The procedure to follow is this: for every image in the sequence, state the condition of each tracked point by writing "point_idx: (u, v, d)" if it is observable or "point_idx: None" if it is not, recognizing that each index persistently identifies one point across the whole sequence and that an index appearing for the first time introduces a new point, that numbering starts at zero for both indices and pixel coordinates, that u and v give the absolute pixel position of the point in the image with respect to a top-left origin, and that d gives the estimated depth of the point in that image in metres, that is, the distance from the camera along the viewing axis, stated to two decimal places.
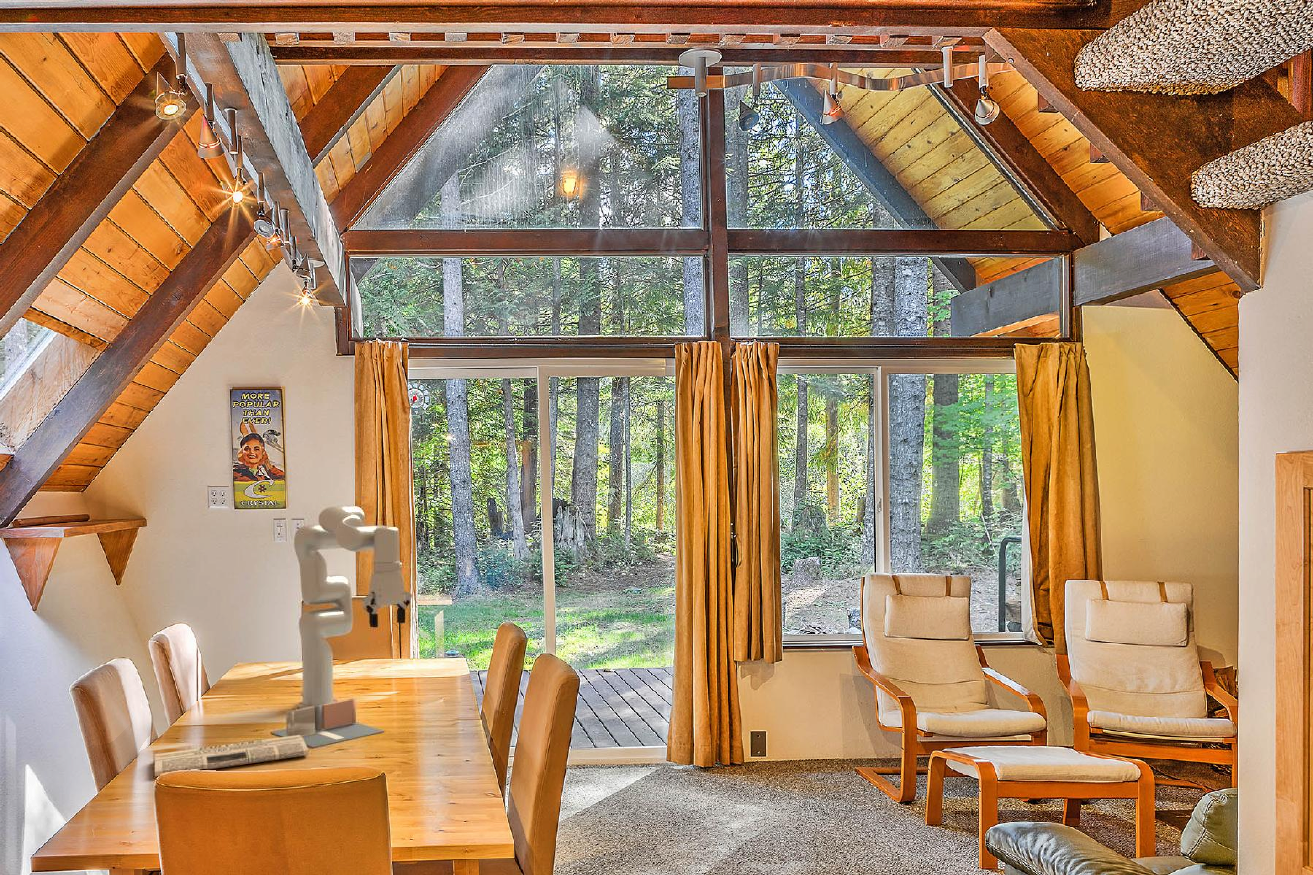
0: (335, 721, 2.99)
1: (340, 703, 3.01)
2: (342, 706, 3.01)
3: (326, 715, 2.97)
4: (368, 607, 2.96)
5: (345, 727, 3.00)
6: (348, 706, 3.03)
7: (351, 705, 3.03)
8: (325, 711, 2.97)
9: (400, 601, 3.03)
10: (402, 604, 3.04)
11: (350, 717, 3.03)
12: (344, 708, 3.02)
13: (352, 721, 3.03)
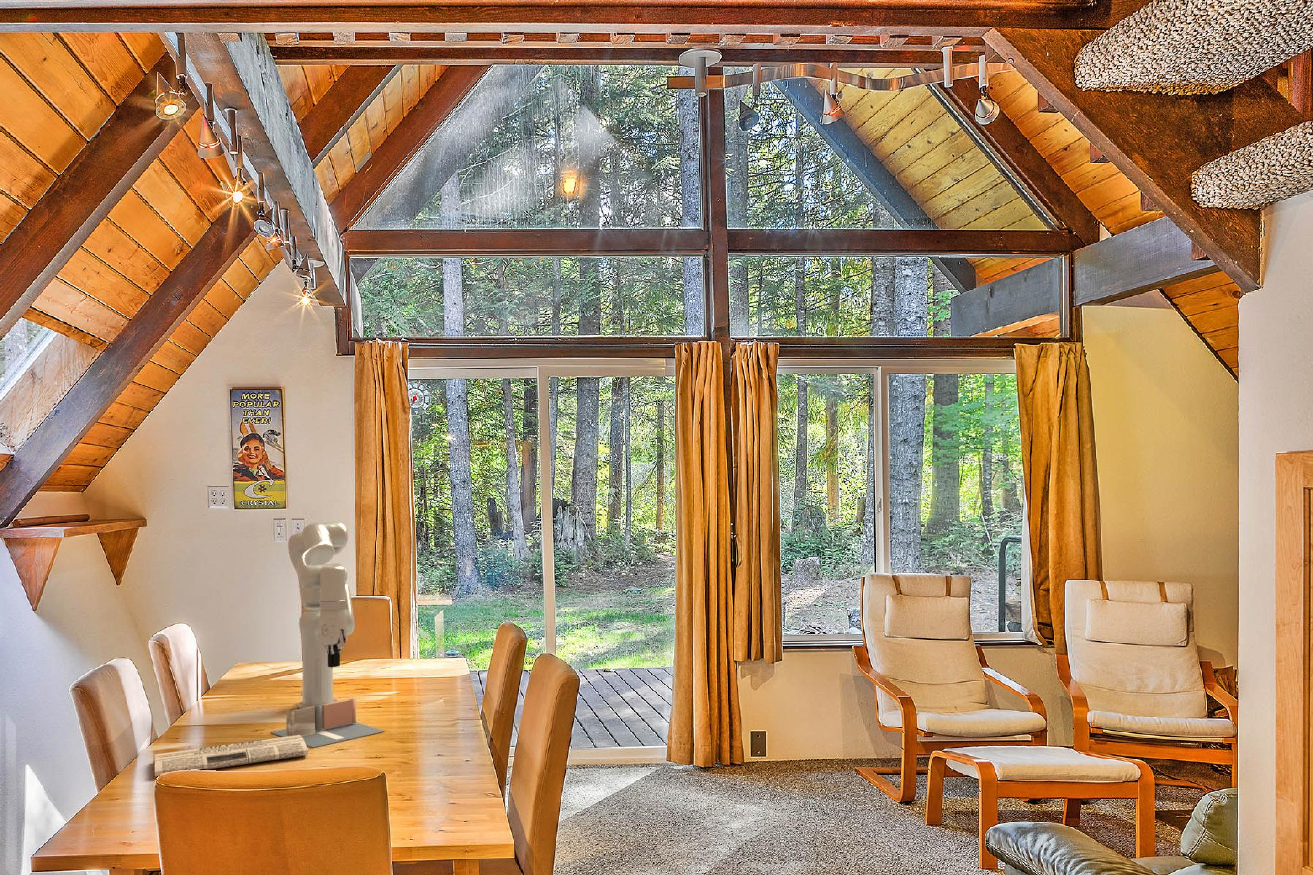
0: (335, 721, 2.99)
1: (340, 703, 3.01)
2: (342, 706, 3.01)
3: (326, 715, 2.97)
4: None
5: (345, 727, 3.00)
6: (348, 706, 3.03)
7: (351, 705, 3.03)
8: (325, 711, 2.97)
9: None
10: None
11: (350, 717, 3.03)
12: (344, 708, 3.02)
13: (352, 721, 3.03)
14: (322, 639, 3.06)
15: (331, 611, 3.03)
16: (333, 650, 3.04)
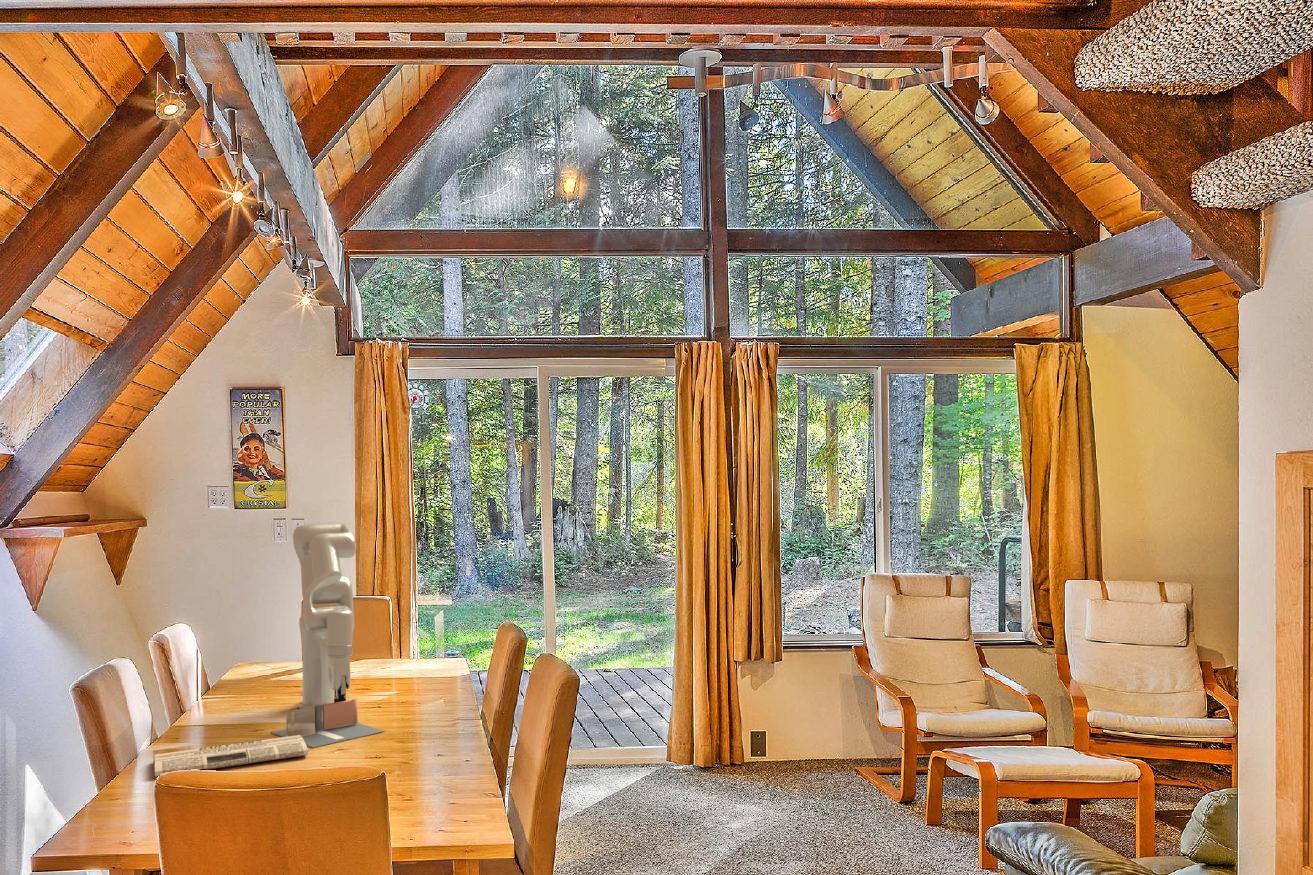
0: (336, 721, 2.99)
1: (341, 703, 3.00)
2: (343, 706, 3.01)
3: (326, 715, 2.97)
4: None
5: (345, 727, 3.00)
6: (349, 707, 3.02)
7: (352, 706, 3.03)
8: (325, 712, 2.97)
9: None
10: None
11: (351, 718, 3.02)
12: (345, 709, 3.01)
13: (353, 722, 3.02)
14: (329, 683, 3.04)
15: (334, 656, 3.01)
16: (337, 695, 3.02)
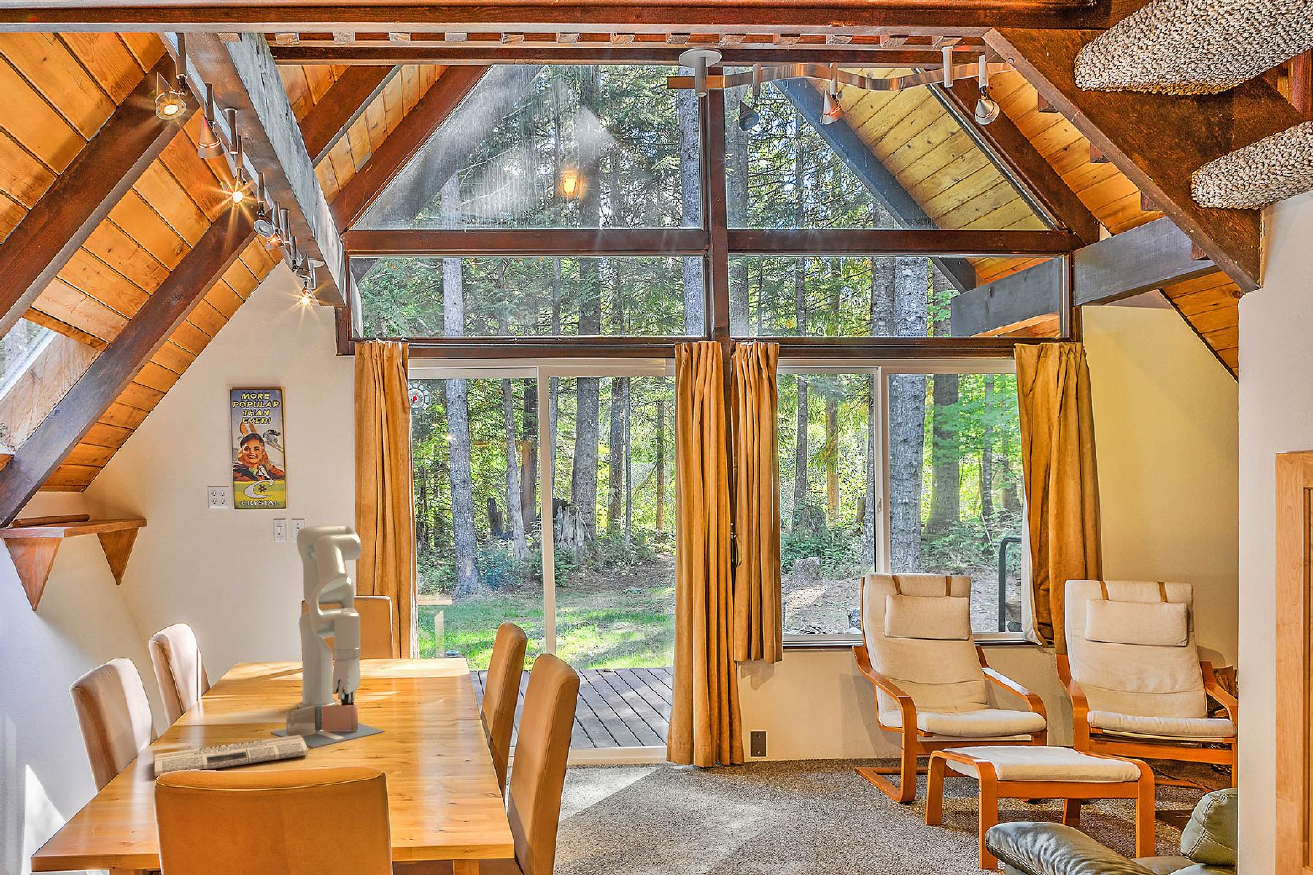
0: (333, 725, 2.95)
1: (339, 707, 2.95)
2: (341, 711, 2.95)
3: (324, 717, 2.95)
4: (346, 697, 2.96)
5: None
6: (347, 712, 2.95)
7: (351, 712, 2.95)
8: (322, 713, 2.95)
9: (358, 686, 3.02)
10: (353, 693, 3.00)
11: (349, 724, 2.95)
12: (343, 713, 2.95)
13: (351, 728, 2.94)
14: None
15: (335, 659, 2.97)
16: (341, 699, 2.97)
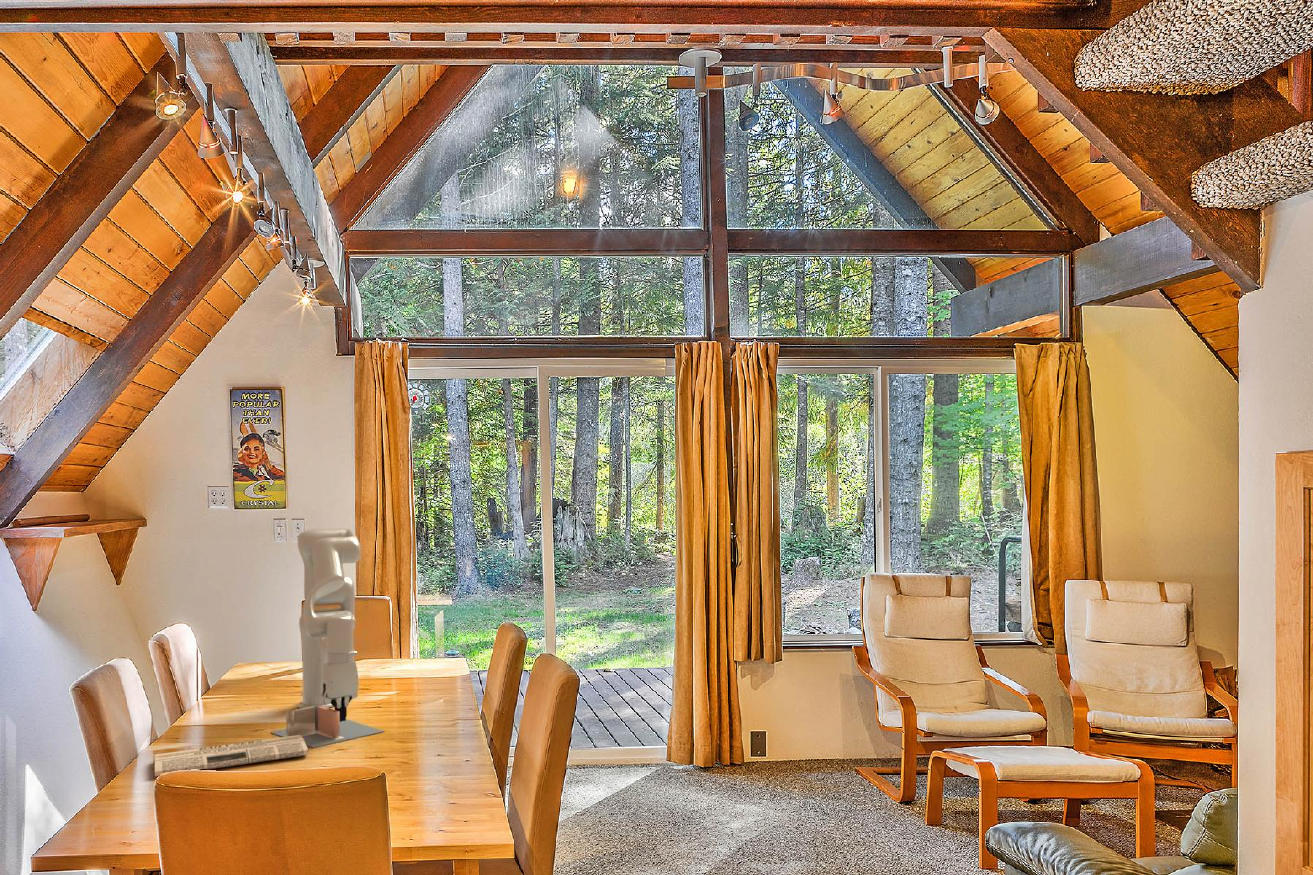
0: (323, 727, 2.92)
1: (326, 711, 2.91)
2: (327, 715, 2.91)
3: (319, 718, 2.94)
4: (333, 701, 2.91)
5: (345, 727, 3.00)
6: (330, 717, 2.89)
7: (332, 717, 2.89)
8: (318, 714, 2.95)
9: (354, 692, 2.94)
10: (347, 699, 2.93)
11: (331, 729, 2.89)
12: (328, 718, 2.90)
13: (332, 734, 2.88)
14: None
15: None
16: None
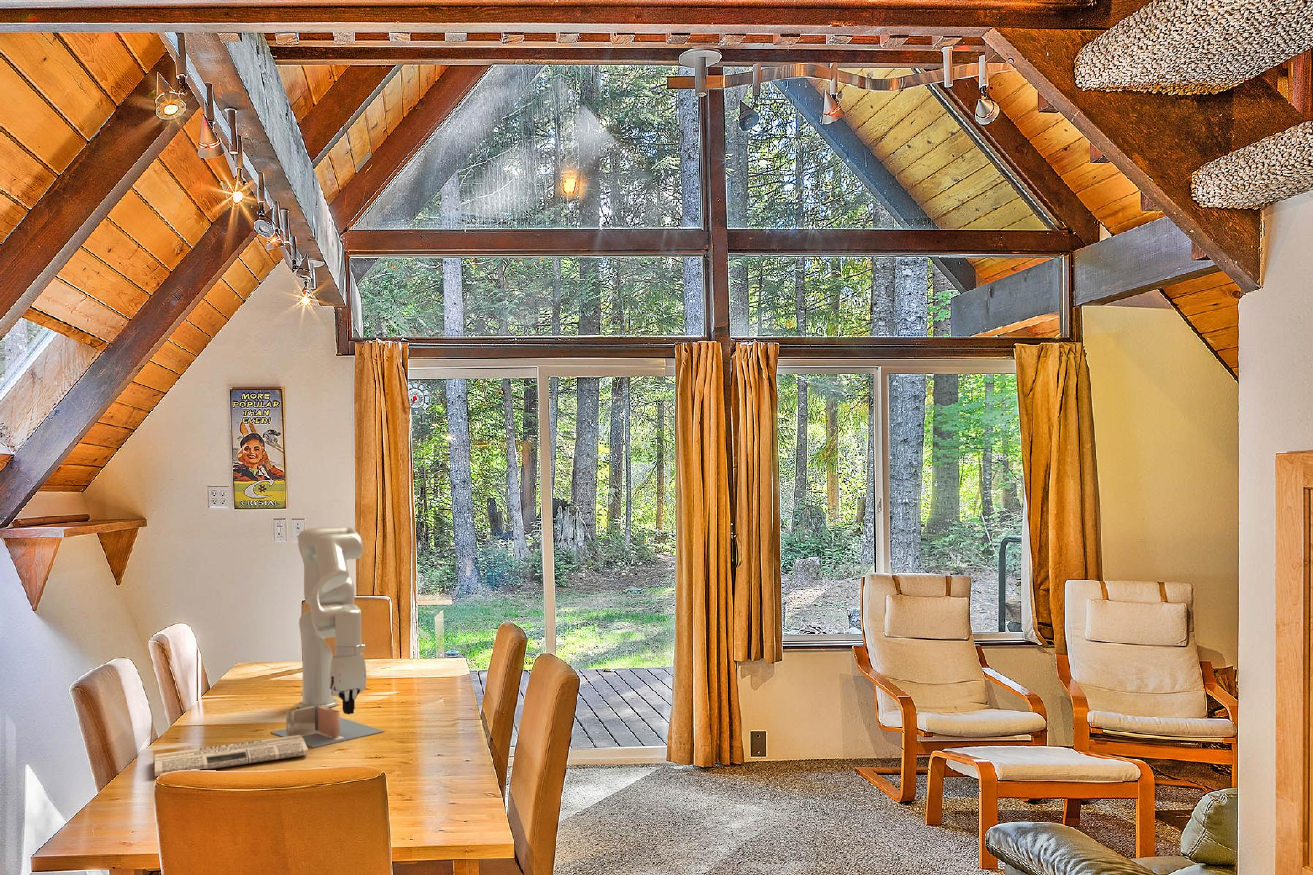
0: (323, 727, 2.92)
1: (326, 711, 2.91)
2: (327, 715, 2.91)
3: (319, 718, 2.94)
4: (341, 694, 2.93)
5: (345, 727, 3.00)
6: (330, 717, 2.89)
7: (332, 717, 2.89)
8: (318, 714, 2.95)
9: (362, 685, 2.96)
10: (354, 692, 2.95)
11: (331, 729, 2.89)
12: (328, 718, 2.90)
13: (332, 734, 2.88)
14: None
15: None
16: None
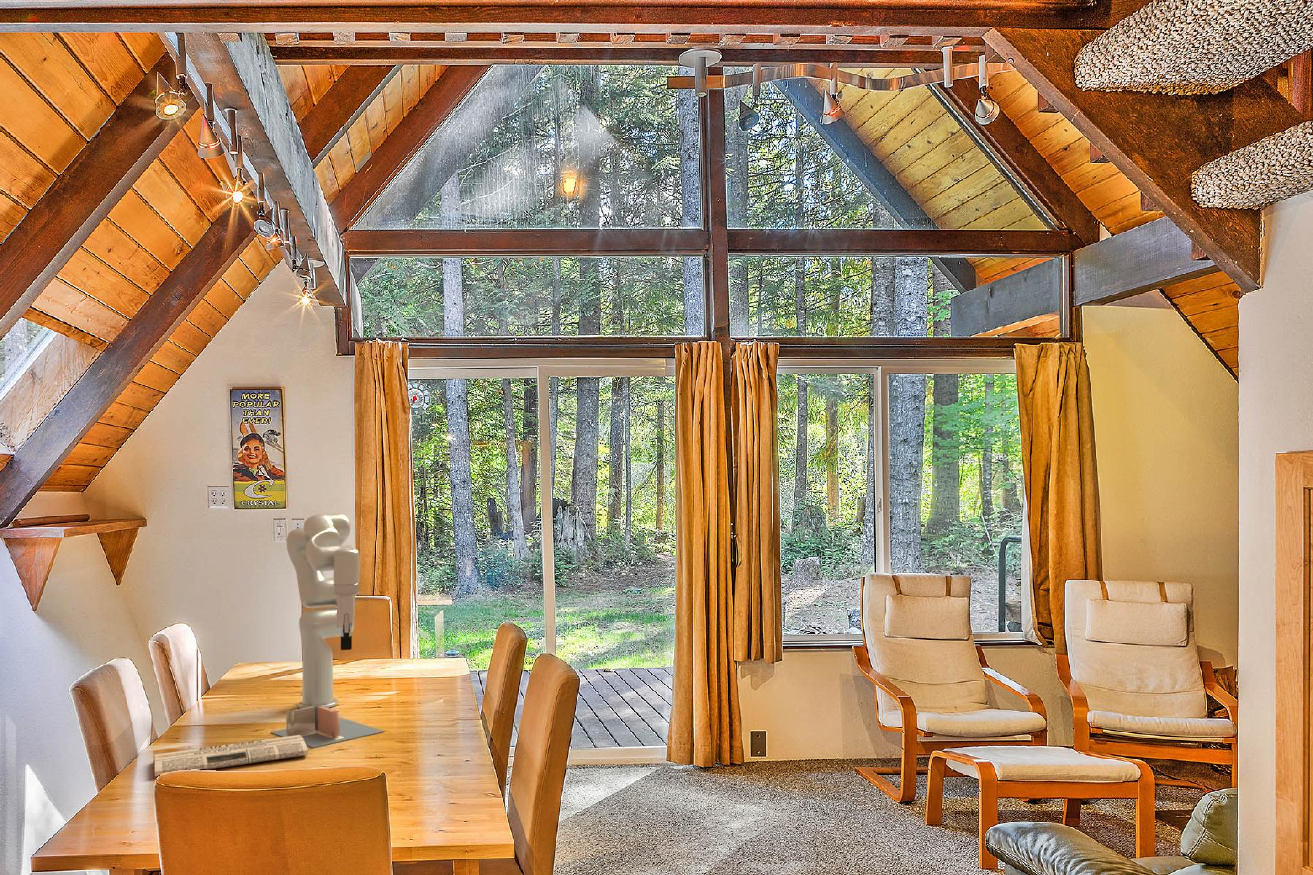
0: (323, 727, 2.92)
1: (326, 711, 2.91)
2: (327, 715, 2.91)
3: (319, 718, 2.94)
4: (349, 630, 3.03)
5: (345, 727, 3.00)
6: (330, 717, 2.89)
7: (332, 717, 2.89)
8: (318, 714, 2.95)
9: None
10: None
11: (331, 729, 2.89)
12: (328, 718, 2.90)
13: (332, 734, 2.88)
14: None
15: (338, 594, 3.02)
16: (342, 633, 3.03)
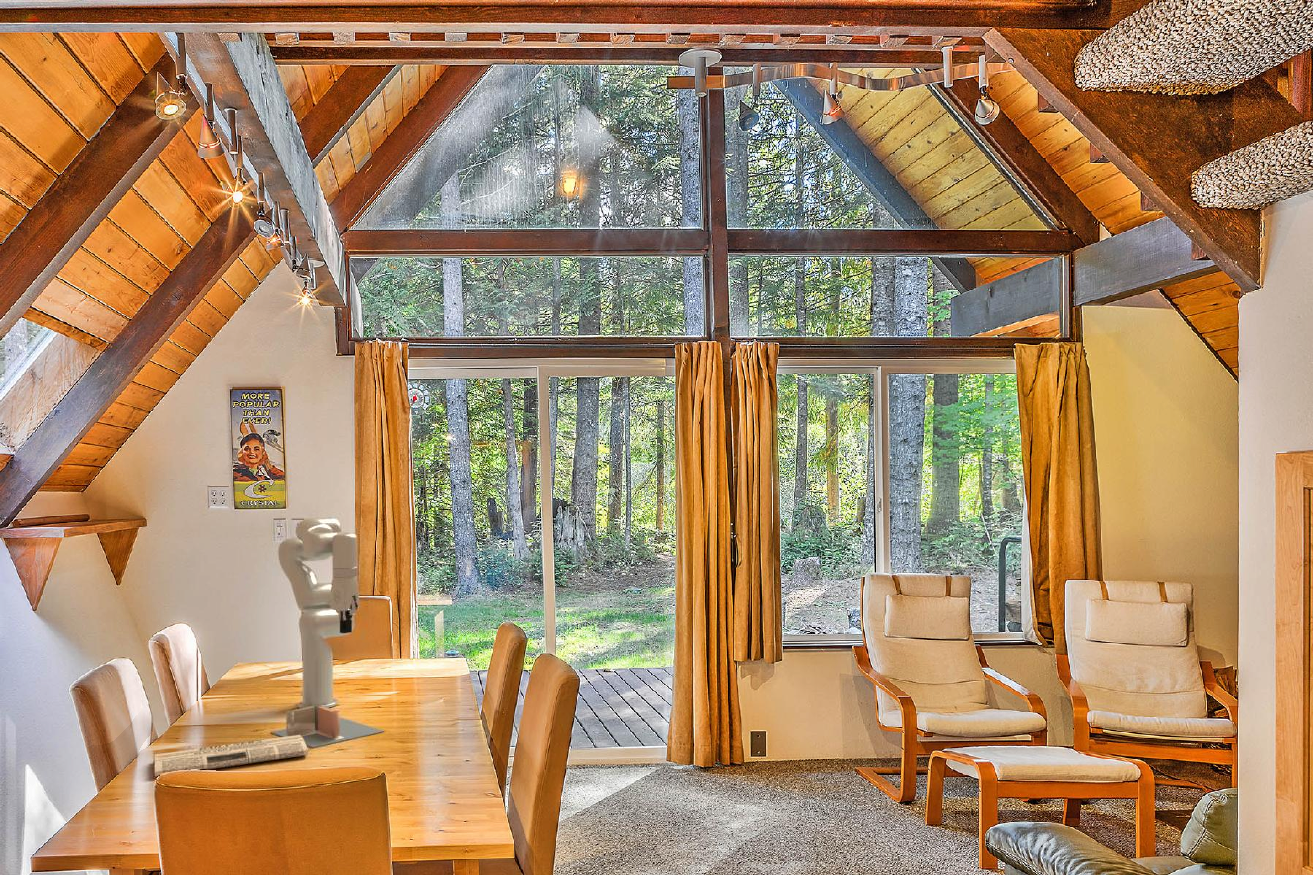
0: (323, 727, 2.92)
1: (326, 711, 2.91)
2: (327, 715, 2.91)
3: (319, 718, 2.94)
4: None
5: (345, 727, 3.00)
6: (330, 717, 2.89)
7: (332, 717, 2.89)
8: (318, 714, 2.95)
9: None
10: None
11: (331, 729, 2.89)
12: (328, 718, 2.90)
13: (332, 734, 2.88)
14: (334, 605, 3.11)
15: (343, 578, 3.08)
16: (345, 616, 3.10)
